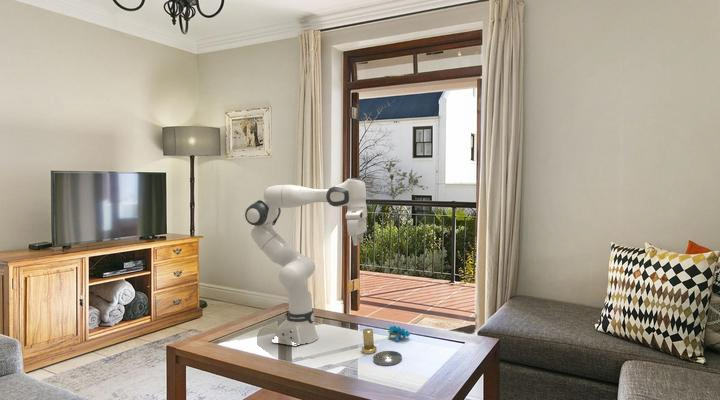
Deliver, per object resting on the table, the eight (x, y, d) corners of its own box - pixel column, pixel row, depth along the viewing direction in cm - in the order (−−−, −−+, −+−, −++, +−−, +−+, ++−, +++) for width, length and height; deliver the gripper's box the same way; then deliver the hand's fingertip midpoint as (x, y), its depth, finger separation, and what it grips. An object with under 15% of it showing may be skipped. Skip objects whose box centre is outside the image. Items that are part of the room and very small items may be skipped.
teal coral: (414, 335, 208) (402, 324, 203) (410, 347, 205) (398, 337, 200) (395, 333, 216) (383, 323, 210) (391, 345, 212) (379, 335, 207)
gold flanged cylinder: (360, 353, 196) (358, 332, 195) (364, 347, 202) (363, 327, 201) (374, 354, 194) (372, 333, 193) (378, 348, 200) (376, 328, 199)
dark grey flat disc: (369, 364, 184) (369, 361, 184) (377, 352, 196) (377, 349, 196) (398, 366, 181) (398, 363, 180) (404, 354, 192) (404, 351, 192)
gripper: (356, 212, 214) (357, 241, 214) (344, 215, 194) (345, 247, 195) (369, 212, 213) (370, 241, 213) (358, 215, 193) (359, 247, 193)
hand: (358, 243), depth 204 cm, fingers open, 8 cm apart
